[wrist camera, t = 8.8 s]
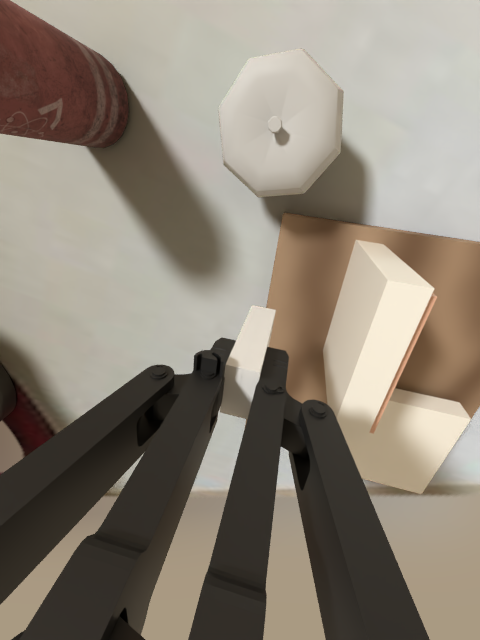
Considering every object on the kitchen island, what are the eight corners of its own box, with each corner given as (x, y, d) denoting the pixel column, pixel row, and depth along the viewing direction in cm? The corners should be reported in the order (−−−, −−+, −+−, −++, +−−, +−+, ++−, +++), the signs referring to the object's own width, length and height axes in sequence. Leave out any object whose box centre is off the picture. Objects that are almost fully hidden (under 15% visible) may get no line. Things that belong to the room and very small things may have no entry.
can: (147, 89, 22) (-60, -25, 10) (112, 164, 25) (-81, 150, 12) (80, 28, 21) (-239, -183, 9) (52, 113, 24) (-217, 43, 12)
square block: (317, 466, 29) (421, 494, 28) (345, 390, 25) (470, 419, 24) (316, 446, 32) (413, 471, 30) (342, 373, 27) (457, 398, 26)
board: (246, 424, 34) (243, 434, 33) (284, 212, 24) (282, 214, 22) (423, 469, 32) (428, 482, 31) (559, 254, 21) (576, 259, 20)
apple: (361, 92, 19) (384, 55, 14) (312, 211, 23) (314, 222, 17) (249, 54, 20) (225, 3, 14) (219, 177, 24) (190, 177, 18)
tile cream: (322, 350, 27) (330, 435, 18) (355, 239, 22) (387, 280, 13) (350, 356, 26) (372, 445, 17) (390, 245, 22) (446, 290, 13)
